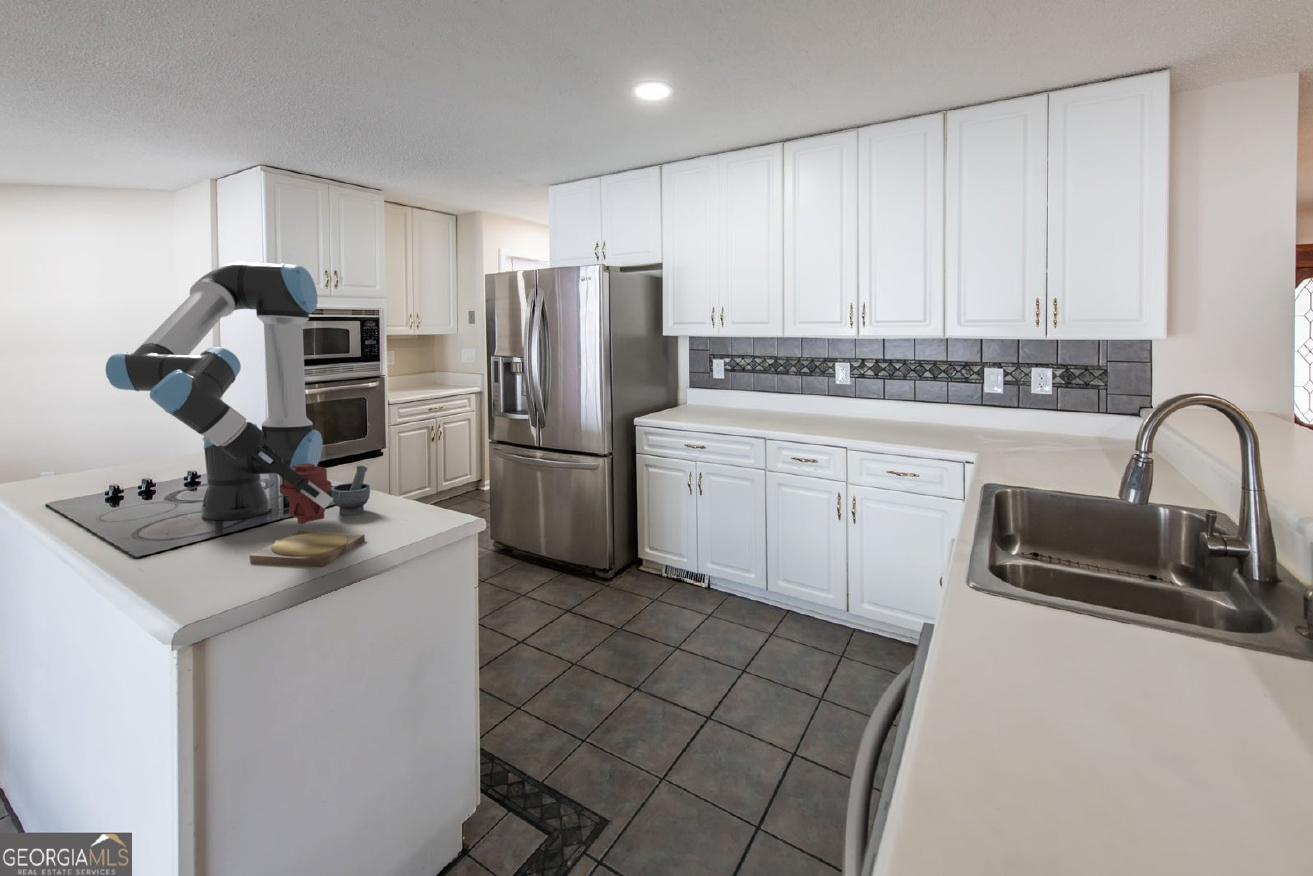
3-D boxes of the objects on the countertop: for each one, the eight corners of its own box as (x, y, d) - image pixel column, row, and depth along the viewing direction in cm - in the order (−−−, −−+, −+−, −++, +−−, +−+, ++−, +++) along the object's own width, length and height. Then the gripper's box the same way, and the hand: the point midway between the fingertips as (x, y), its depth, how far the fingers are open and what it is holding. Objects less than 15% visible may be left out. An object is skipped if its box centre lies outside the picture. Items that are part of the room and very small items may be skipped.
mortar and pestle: (355, 518, 166) (353, 473, 164) (323, 515, 168) (321, 471, 166) (381, 507, 177) (380, 465, 175) (351, 504, 179) (350, 462, 177)
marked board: (299, 536, 151) (299, 529, 151) (364, 540, 150) (364, 533, 150) (249, 562, 134) (249, 553, 134) (322, 566, 134) (322, 558, 133)
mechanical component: (299, 529, 134) (271, 521, 139) (342, 518, 143) (314, 511, 147) (297, 472, 132) (268, 466, 137) (340, 464, 141) (312, 459, 145)
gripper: (211, 439, 136) (297, 500, 149) (228, 457, 119) (323, 523, 132) (238, 413, 139) (321, 475, 152) (258, 427, 122) (349, 495, 135)
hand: (322, 498), depth 142 cm, fingers closed on mechanical component, 10 cm apart
